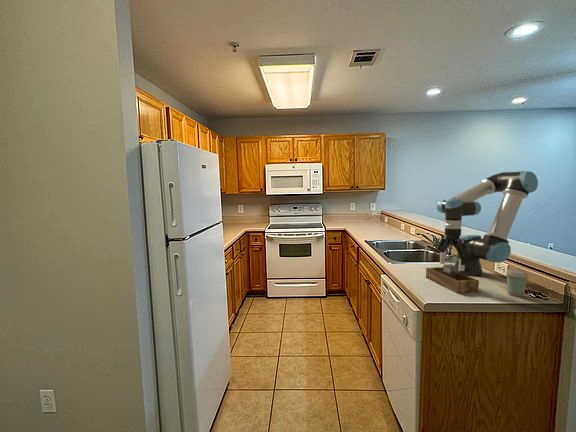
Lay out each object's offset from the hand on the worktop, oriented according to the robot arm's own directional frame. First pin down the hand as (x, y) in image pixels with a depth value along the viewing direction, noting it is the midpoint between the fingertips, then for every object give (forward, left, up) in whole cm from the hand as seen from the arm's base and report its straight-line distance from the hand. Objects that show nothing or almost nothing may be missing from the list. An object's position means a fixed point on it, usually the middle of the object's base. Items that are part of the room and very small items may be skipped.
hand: (451, 267), depth 151 cm
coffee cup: (-20, +19, -10) cm, 29 cm away
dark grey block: (0, 0, -9) cm, 9 cm away
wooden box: (0, 0, -10) cm, 10 cm away
